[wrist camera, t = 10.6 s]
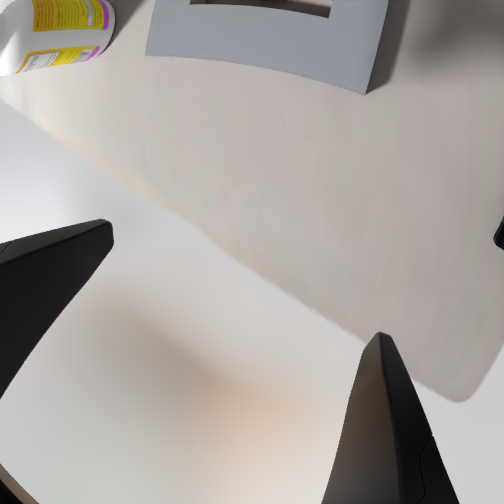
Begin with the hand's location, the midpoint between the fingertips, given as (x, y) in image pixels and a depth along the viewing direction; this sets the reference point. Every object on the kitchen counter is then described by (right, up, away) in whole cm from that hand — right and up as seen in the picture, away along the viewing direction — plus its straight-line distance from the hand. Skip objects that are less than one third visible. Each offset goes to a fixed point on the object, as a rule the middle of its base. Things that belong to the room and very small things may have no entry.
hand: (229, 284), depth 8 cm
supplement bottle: (-14, +22, +9) cm, 27 cm away
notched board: (+2, +18, +4) cm, 19 cm away
